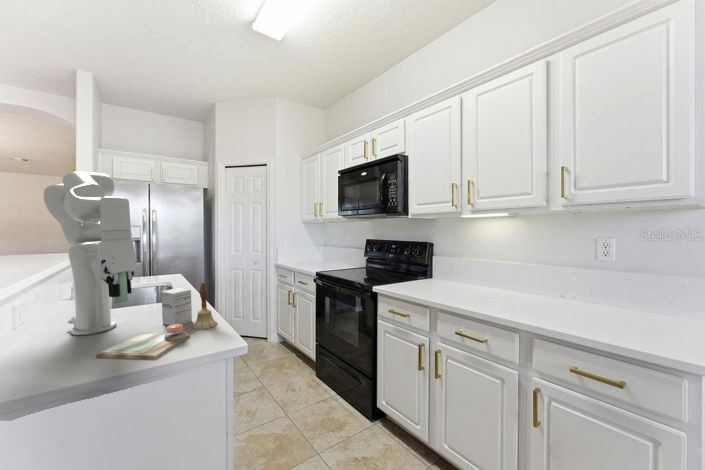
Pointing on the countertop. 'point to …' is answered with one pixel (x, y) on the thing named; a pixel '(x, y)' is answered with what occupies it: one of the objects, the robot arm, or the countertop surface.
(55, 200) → the robot arm
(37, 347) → the countertop surface
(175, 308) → the supplement box
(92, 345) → the countertop surface
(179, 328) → the button
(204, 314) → the hand bell
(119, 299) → the green cylinder
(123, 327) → the countertop surface
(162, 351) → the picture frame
